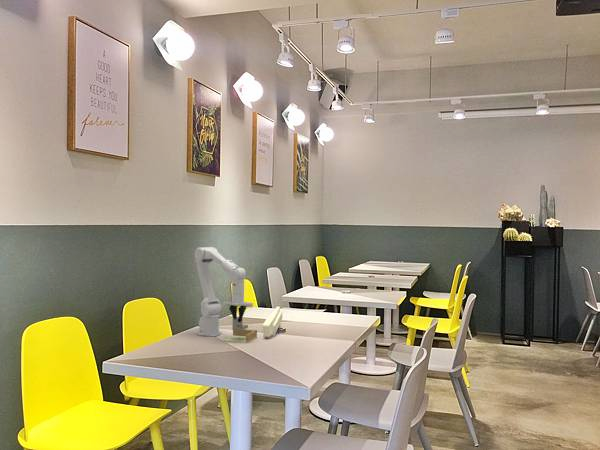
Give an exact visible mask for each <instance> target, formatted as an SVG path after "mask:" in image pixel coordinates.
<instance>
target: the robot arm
mask: <svg viewBox="0 0 600 450" xmlns="http://www.w3.org/2000/svg"><path fill="white" fill-rule="evenodd" d="M193 254H194V258H195V263H196V269H197V273H198V279H199V282H200V286H201V291H202V292H201V293H202V294H203V295H202V296H203V300H202V301H201V302H200V313H201V315H202V316H200V318H199V321H198V336H203V337H204V336H206V337H207V336H208V337H217V336H219V335H221V334H223V333H222V332H221V331H220V317H221V314H222V313H223V307H229V308H228V310H229V311H230V313H231V316H232V320H233V319H234V318H237V317H239V322H242V323H243V318H242V317H243V316H244V314H245V312H246V310H247V308H254V303H253V302H247V301H245V279H246V278H247V277H248V276H247V275H248V272H247V270H246V268H245V267H240V266H239V265H237V264H236V263H235V262H234V261H233V260H232V259H226V258H225V257H224V256H222V254H221V253H220V252H219V250H218V249H217V248H216V247H214V246H209V247H208V246H207V247H203V246H202V247H200V246H199V247H197V248H196V249H195V252H194V253H193ZM213 261H214V262H216V263H217V264H219V265H220V266H221V269H222V270H223V271H224V272H226V274H228V275H229V279H230V281H231V301H222V303H221V302H220V299H219V298H217V297H216V296H215V291H214V287H213V283H212V282H213V281H212V279H211V274H210V271H209V266H210V265H211V264H212V262H213Z"/></svg>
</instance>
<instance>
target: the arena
mask: <svg viewBox="0 0 600 450" xmlns="http://www.w3.org/2000/svg"><path fill="white" fill-rule="evenodd" d="M257 335H258V330H256V329H244V330H232V335H231V336H229V337H227V338H226V339H224V340H223V342H227V343H228V342H229V343H243V344H249V343H251V342H252V341H254V340H255V339H257V338H258V337H257Z"/></svg>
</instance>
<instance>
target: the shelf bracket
mask: <svg viewBox="0 0 600 450" xmlns="http://www.w3.org/2000/svg"><path fill="white" fill-rule="evenodd" d="M282 320H283V311H282V310H281V308H280V306H276V307H275V308H274V310H273V311H272V312H270V314H269V315H268V316H267V318H266V320H264V322H263V324H262V335H263V337H264V338H271V337H274V336H276V333H277V331H278V330H279V329H278V328H281V329H282V326H281V325H282V323H281V321H282Z"/></svg>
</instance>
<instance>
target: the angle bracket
mask: <svg viewBox="0 0 600 450" xmlns="http://www.w3.org/2000/svg"><path fill="white" fill-rule="evenodd" d="M242 319H243V317H242ZM244 329H245V330H247V329H249V325H248V324H243V321H242V322H239V316H237V318H234V319H233V318H232V331H233V330H244Z"/></svg>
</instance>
